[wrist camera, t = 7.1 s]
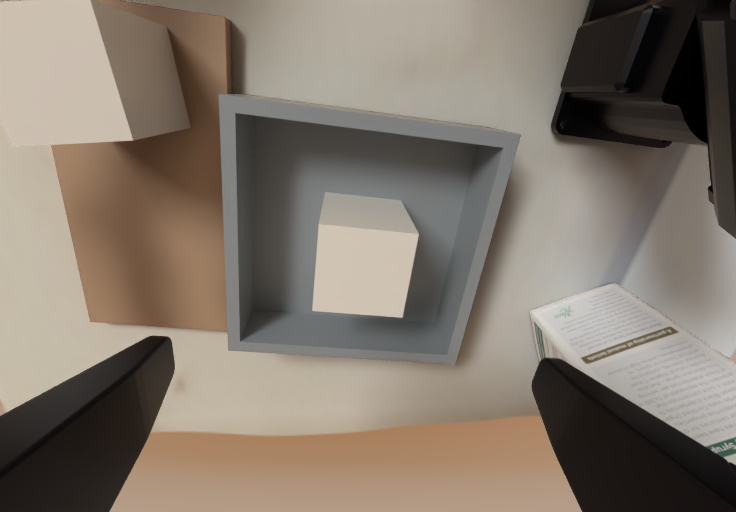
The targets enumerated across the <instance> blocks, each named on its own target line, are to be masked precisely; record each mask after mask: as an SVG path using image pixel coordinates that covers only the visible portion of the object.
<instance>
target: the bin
mask: <svg viewBox="0 0 736 512" xmlns="http://www.w3.org/2000/svg"><path fill="white" fill-rule="evenodd" d="M219 116H220V143H221V170H222V196H223V223H224V250H225V277H226V304H227V331H228V350H229V351H245V352H262V353H278V354H294V355H310V356H327V357H343V358H359V359H376V360H392V361H408V362H425V363H441V364H456V360H457V357H458V353H459V350H460V346H461V343H462V339H463V336H464V332H465V329H466V325H467V322H468V318H469V315H470V311H471V308H472V304H473V301H474V298H475V294H476V291H477V287H478V284H479V280H480V277H481V273H482V270H483V266H484V263H485V259H486V256H487V252H488V249H489V245H490V242H491V238H492V235H493V231H494V228H495V224H496V221H497V217H498V214H499V210H500V207H501V203H502V200H503V196H504V193H505V189H506V186H507V182H508V179H509V175H510V172H511V168H512V165H513V161H514V158H515V154H516V151H517V147H518V144H519V140H520V137H521V135H520V134H515V133H511V132H507V131H502V130H498V129H494V128H489V127H482V126H475V125H467V124H460V123H453V122H445V121H438V120H431V119H423V118H416V117H408V116H401V115H394V114H386V113H379V112H372V111H364V110H357V109H349V108H342V107H335V106H327V105H320V104H313V103H305V102H298V101H291V100H283V99H276V98H268V97H261V96H254V95H246V94H219ZM325 192H329V193H338V194H347V195H356V196H365V197H374V198H383V199H393V200H401V201H402V203H403V205H404V207H405V209H406V211H407V212H408V214H409V216H410V218H411V220H412V222H413V224H414V226H415V228H416V229H417V231H418V233H419V237H418V242H417V247H416V252H415V257H414V262H413V267H412V272H411V277H410V282H409V287H408V292H407V297H406V302H405V308H404V313H403V318H399V317H386V316H373V315H359V314H346V313H332V312H319V311H312V306H313V293H314V280H315V267H316V254H317V240H318V227H319V220H320V215H321V210H322V205H323V200H324V195H325Z"/></svg>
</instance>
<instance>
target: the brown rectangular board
mask: <svg viewBox="0 0 736 512" xmlns="http://www.w3.org/2000/svg"><path fill="white" fill-rule="evenodd" d="M19 1H20V0H19ZM97 1H100V2H102V3H105V4H108V5H110V6H113V7H116V8H118V9H121V10H124V11H126V12H129V13H131V14H134V15H137V16H139V17H142V18H145V19H147V20H150V21H153V22H155V23H158V24H161V25H163V26H166V27H167V30H168V34H169V38H170V42H171V47H172V51H173V55H174V59H175V63H176V68H177V72H178V76H179V80H180V84H181V89H182V93H183V97H184V101H185V105H186V110H187V114H188V118H189V122H190V126H191V128H188V129H183V130H179V131H174V132H170V133H165V134H160V135H156V136H151V137H147V138H142V139H138V140H133V141H115V142H96V143H78V144H60V145H51V147H52V151H53V156H54V160H55V165H56V169H57V174H58V178H59V183H60V187H61V192H62V196H63V201H64V205H65V210H66V214H67V219H68V223H69V228H70V232H71V237H72V241H73V246H74V250H75V255H76V260H77V264H78V269H79V273H80V278H81V282H82V287H83V291H84V296H85V300H86V305H87V309H88V314H89V318H90V322H99V323H114V324H129V325H144V326H159V327H174V328H189V329H204V330H219V331H227V304H226V277H225V250H224V223H223V196H222V170H221V143H220V116H219V94H232V67H231V24H230V20H229V19H227V18H226V17H222V16H216V15H209V14H203V13H197V12H190V11H184V10H178V9H171V8H165V7H159V6H152V5H146V4H139V3H133V2H127V1H120V0H97Z"/></svg>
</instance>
